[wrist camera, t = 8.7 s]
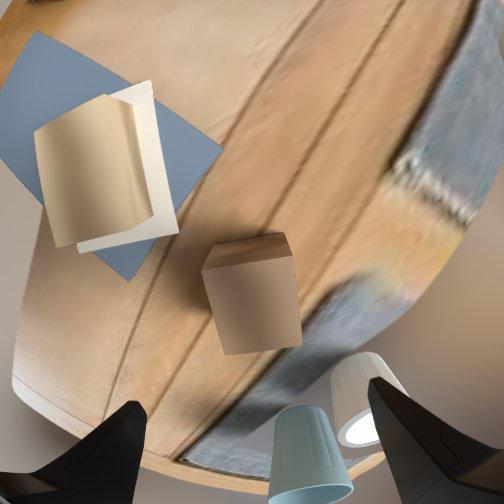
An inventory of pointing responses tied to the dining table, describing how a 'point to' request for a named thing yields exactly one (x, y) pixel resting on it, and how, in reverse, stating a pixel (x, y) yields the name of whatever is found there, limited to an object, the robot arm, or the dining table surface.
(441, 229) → the dining table surface
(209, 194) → the dining table surface
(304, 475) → the cup
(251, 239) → the walnut block
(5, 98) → the board
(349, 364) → the shot glass
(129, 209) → the beech block
